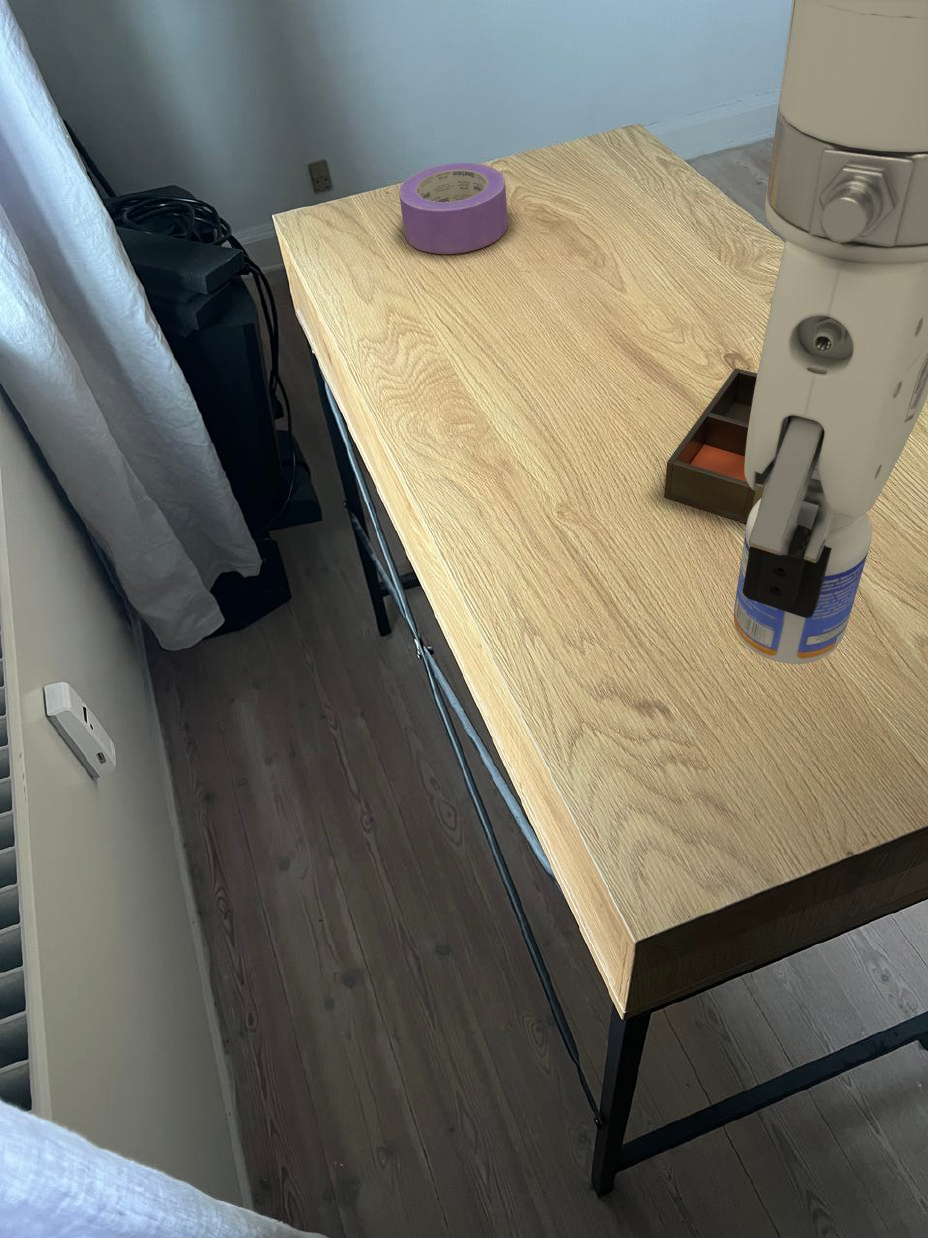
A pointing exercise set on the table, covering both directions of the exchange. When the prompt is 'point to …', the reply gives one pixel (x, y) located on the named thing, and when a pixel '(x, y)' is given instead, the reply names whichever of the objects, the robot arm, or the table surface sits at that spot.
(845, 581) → the pill bottle
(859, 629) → the table surface
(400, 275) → the table surface
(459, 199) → the tape roll
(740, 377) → the brown wooden tray
